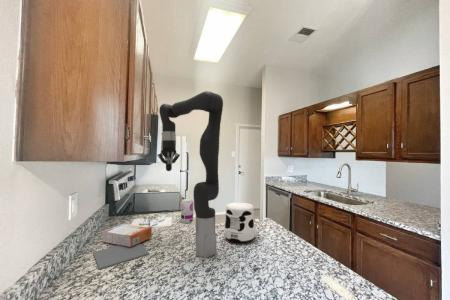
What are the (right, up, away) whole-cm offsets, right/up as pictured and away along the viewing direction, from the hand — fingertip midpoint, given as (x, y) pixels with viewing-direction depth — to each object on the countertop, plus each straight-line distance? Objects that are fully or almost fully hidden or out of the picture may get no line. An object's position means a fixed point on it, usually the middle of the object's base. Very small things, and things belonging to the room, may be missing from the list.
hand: (168, 170), depth 115 cm
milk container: (+40, -37, -2) cm, 54 cm away
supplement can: (+6, -38, +26) cm, 46 cm away
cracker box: (-11, -33, -9) cm, 36 cm away
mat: (-17, -37, -20) cm, 45 cm away
